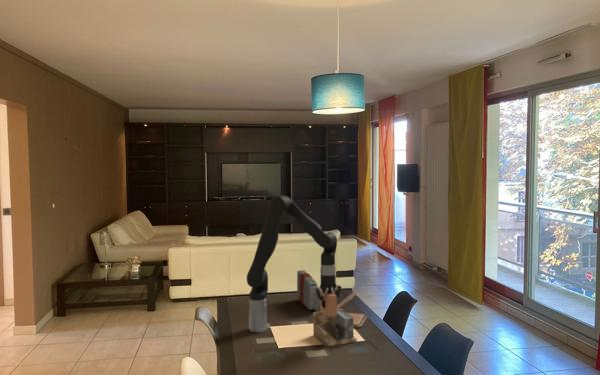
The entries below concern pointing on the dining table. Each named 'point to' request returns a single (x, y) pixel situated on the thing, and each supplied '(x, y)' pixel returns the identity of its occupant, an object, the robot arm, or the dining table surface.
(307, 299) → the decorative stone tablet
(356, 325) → the case
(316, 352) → the dining table surface
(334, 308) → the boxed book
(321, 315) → the shelf
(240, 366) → the dining table surface
